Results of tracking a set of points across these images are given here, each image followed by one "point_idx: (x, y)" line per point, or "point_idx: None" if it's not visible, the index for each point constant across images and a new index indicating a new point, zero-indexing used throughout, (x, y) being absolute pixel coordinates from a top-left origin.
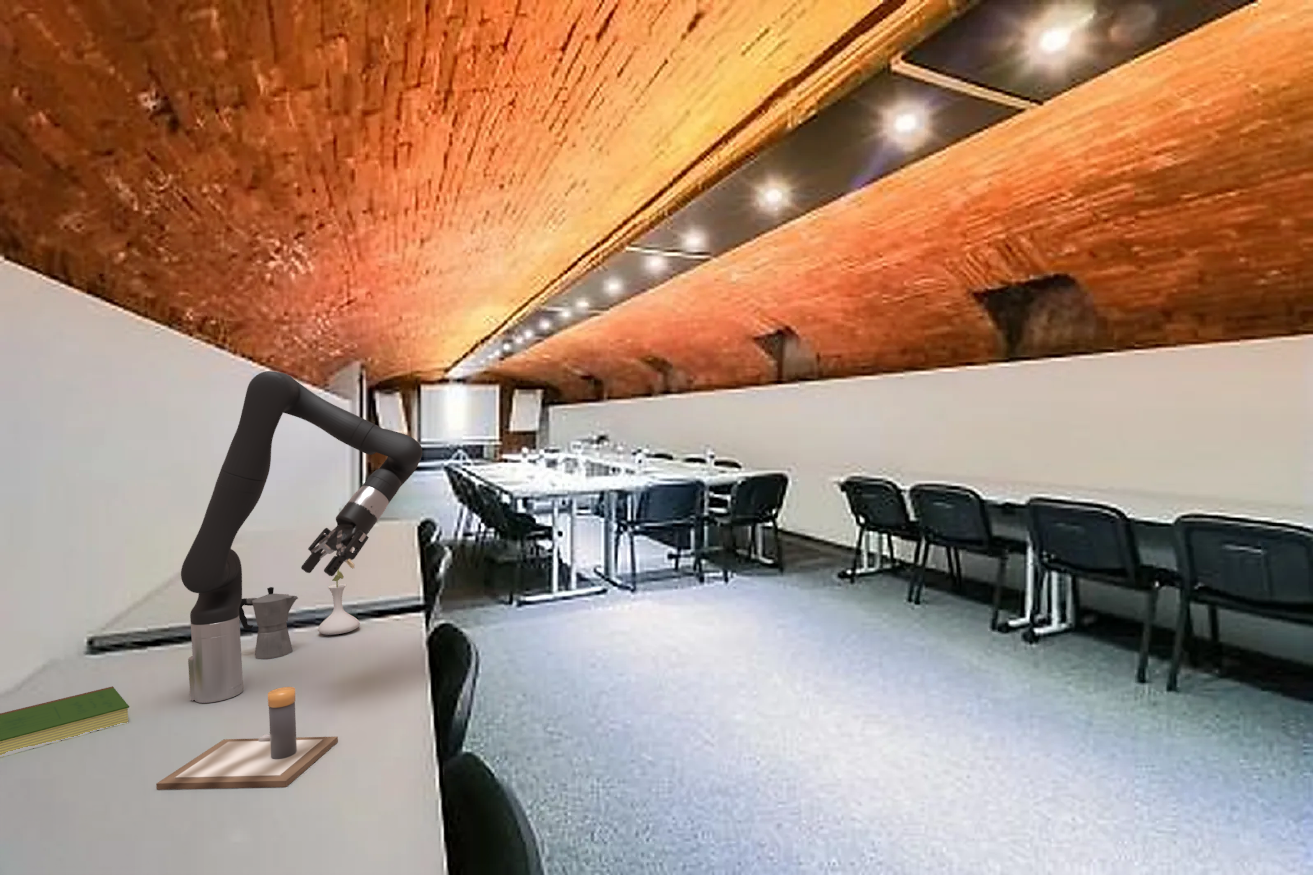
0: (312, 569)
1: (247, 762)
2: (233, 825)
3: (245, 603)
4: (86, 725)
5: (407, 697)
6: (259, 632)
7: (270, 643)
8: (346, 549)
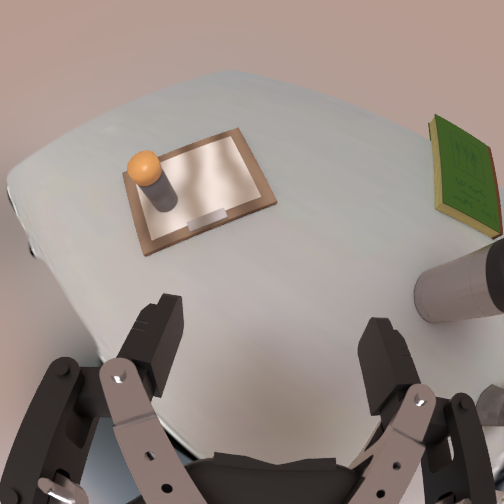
0: (361, 363)
1: (187, 175)
2: (123, 133)
3: None
4: (438, 176)
5: (169, 394)
6: None
7: (493, 399)
8: (58, 380)
